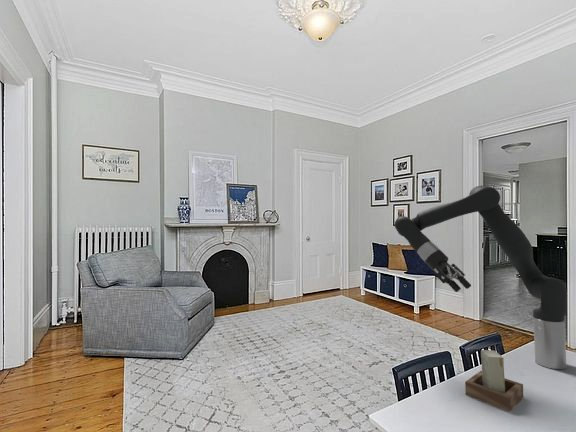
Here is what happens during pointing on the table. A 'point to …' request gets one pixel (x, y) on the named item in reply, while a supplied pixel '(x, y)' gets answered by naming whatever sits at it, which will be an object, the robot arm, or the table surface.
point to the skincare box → (493, 370)
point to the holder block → (495, 392)
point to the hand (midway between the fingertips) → (464, 288)
